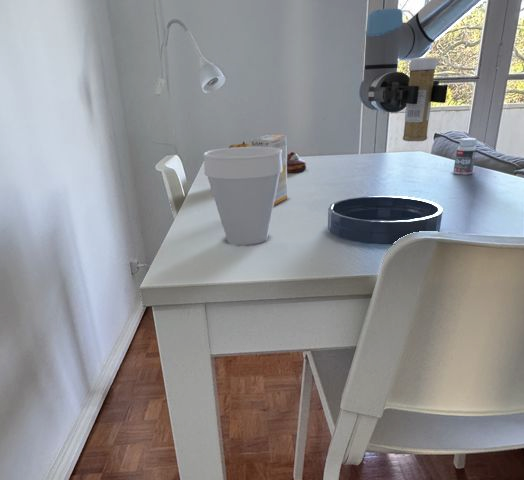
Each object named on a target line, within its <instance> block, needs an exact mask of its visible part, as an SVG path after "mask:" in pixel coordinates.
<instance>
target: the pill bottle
mask: <svg viewBox="0 0 524 480" xmlns="http://www.w3.org/2000/svg"><path fill="white" fill-rule="evenodd" d="M477 141H478V139H477V138H476V137H463V138H460V139H459V146H458V147H457V148H456V153H455V159H454V166H453V171H452V173H453V174H455V175H463V176H464V175H465V176H466V175H471V174H473V171H474V165H475V160H476V154H477V146H476V145H477V143H478V142H477Z"/></svg>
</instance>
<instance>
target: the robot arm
mask: <svg viewBox="0 0 524 480" xmlns="http://www.w3.org/2000/svg"><path fill="white" fill-rule="evenodd" d="M484 1H485V0H429V1H428V2H427V3H426V4H424V6H423V7H422V8H421V9H419V10H418V12H416V13H415V14H414V15H413V16H412V17H411V18H410V19H409V20H408V21H406V22H404V20H403V11H402V10H401V9H400V8H380V9H375V10H372V11H371V12H370V13H369V14H368V16H367V23H366V31H365V49H364V69H363V77H362V79H363V80H362V81H361V83H360V85H359V88H358V97H359V100H360V102H361V104H362V105H363V106H364V107H366V108H368V109H370V110H373V111H381V112H382V114H383V115H388V113H391V114H392V113H393V114H394V113H399V112H402V111H403V110H404V109H406V103H408V104H417V100H418V91H419V86H409V78H410V75H408V74H406V73H405V72H401V71H398V69H399V62H409V63H410V60H411V59H414V58H422V57H426V56H427V55H428V53H429V52H430V50H431V48H432V46H433V44H434V43H435V42H436V41H438V40H439V39H440V38H441V37H442V36H444V34H445V33H447V32H448V31H449V30H450V29H452V28H453V27H454V26H455V25H456V24H458V23H459V22H460V21H461V20H462V19H464V18H465V17H466V16H467V15H468V14H469V13H471V12H472V11H473V10H474V9H475V8H476V7H478V6H479V5H480V4H482V3H483V2H484ZM448 88H449V85H448V84H444V83H443V84H440V80H433V88H432V97H431V103H437V104H446V101H447V94H448Z"/></svg>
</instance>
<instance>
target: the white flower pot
mask: <svg viewBox="0 0 524 480" xmlns="http://www.w3.org/2000/svg"><path fill="white" fill-rule="evenodd" d="M281 153H282V150H281V149H279V148H273V147H233V148H229V147H223V148H218V149H217V148H216V149H210V150H208V151H205V152H203V154H202V155H203V165H204V166H203V167H204V169H203V170H204V175H205V176H206V177H207V180H208V183H209V186H210V189H211V193H212V195H213V198H214V199H213V200H214V202H215V206H216V209H217V212H218V215H219V218H220V221H221V225H222V228H223V231H224V232H223V233H224V234H225V238H226V241H227V242H228V243H230V244H233V245H241V246H245V245H246V246H248V245H256V244H260V243H263V242H266V241H267V240H268V236H269V231H270V226H271V221H272V217H273V210H274V207H275V205H274V201H275V196H276V191H277V186H278V181H279V176H280V173H281V172H282V170H283V169H282V157H281Z"/></svg>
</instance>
